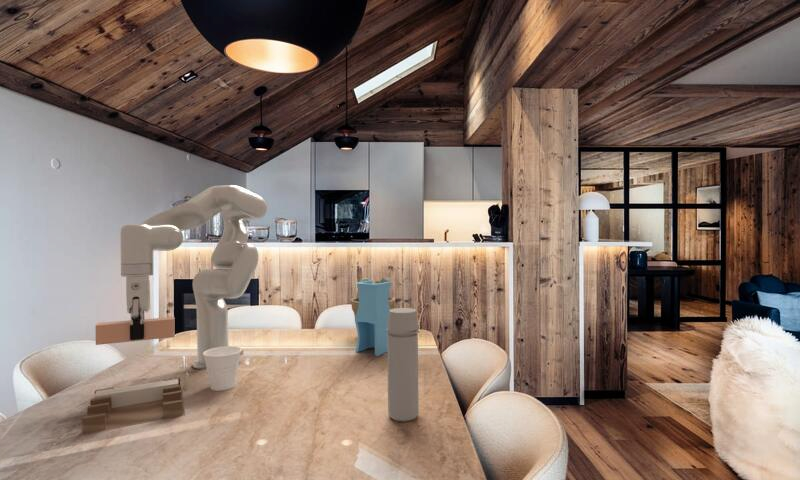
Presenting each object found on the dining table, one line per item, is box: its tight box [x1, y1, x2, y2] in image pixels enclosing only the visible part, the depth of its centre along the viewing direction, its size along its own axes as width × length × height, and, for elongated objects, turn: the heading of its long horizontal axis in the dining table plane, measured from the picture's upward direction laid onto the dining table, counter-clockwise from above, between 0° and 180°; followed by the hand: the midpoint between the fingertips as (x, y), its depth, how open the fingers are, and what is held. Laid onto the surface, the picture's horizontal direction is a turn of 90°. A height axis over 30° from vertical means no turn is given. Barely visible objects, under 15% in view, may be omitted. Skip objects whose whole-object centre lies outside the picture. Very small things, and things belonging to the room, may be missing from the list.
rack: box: [79, 377, 186, 436], centre depth 105 cm, size 20×20×4 cm
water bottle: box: [386, 307, 421, 423], centre depth 102 cm, size 9×8×25 cm
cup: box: [203, 345, 242, 392], centre depth 120 cm, size 10×10×11 cm
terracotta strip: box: [95, 316, 176, 346], centre depth 117 cm, size 18×4×5 cm, turn 117°
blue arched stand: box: [354, 279, 392, 357], centre depth 158 cm, size 10×10×25 cm
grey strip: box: [93, 378, 178, 408], centre depth 110 cm, size 18×4×4 cm, turn 118°
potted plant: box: [350, 276, 396, 317], centre depth 180 cm, size 18×19×25 cm
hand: (137, 337), depth 118 cm, fingers closed on terracotta strip, 4 cm apart
